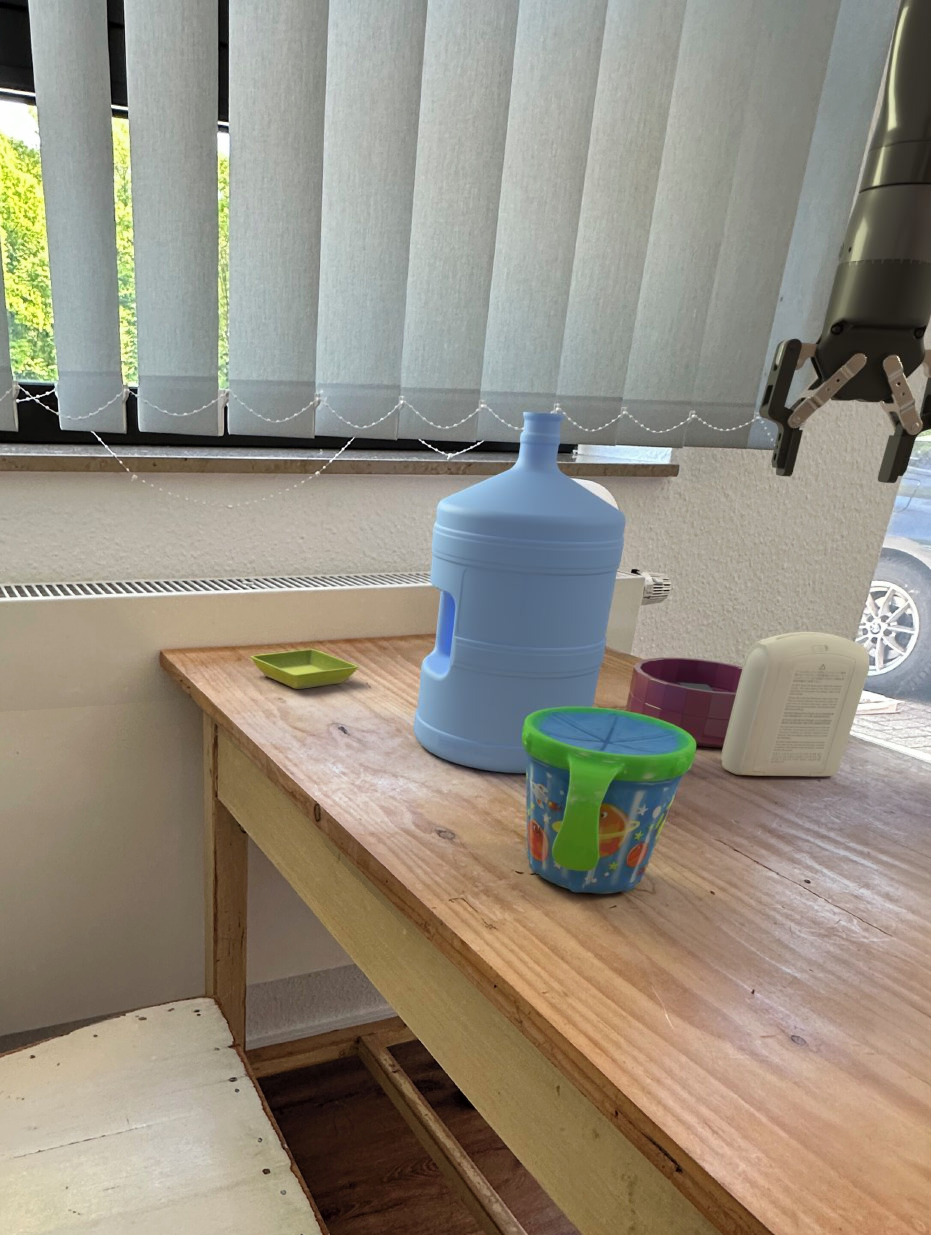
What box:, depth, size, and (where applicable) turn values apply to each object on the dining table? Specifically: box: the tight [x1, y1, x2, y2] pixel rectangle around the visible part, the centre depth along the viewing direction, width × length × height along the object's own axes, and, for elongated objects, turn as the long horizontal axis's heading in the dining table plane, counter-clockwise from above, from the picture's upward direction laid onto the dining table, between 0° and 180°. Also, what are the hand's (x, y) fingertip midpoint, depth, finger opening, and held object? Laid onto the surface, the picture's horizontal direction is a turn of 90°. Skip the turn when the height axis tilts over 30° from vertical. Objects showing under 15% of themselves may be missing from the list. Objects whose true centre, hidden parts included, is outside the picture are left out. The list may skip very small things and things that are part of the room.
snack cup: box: [522, 706, 697, 895], centre depth 62 cm, size 16×10×10 cm
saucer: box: [250, 648, 359, 690], centre depth 104 cm, size 9×9×2 cm
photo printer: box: [720, 631, 870, 777], centre depth 82 cm, size 10×4×12 cm, turn 98°
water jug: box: [413, 411, 627, 774], centre depth 81 cm, size 16×16×28 cm
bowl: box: [625, 657, 743, 749], centre depth 94 cm, size 13×13×6 cm
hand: (834, 479), depth 81 cm, fingers open, 8 cm apart
